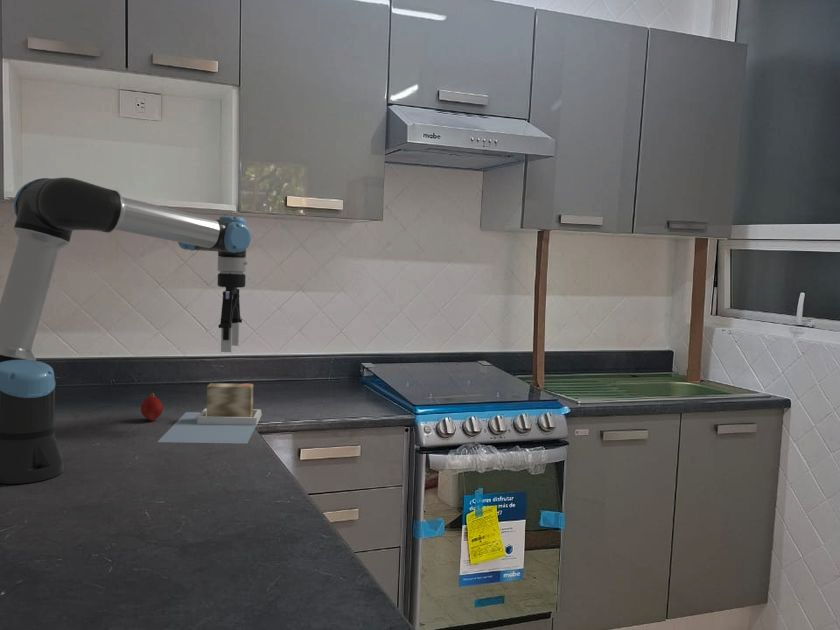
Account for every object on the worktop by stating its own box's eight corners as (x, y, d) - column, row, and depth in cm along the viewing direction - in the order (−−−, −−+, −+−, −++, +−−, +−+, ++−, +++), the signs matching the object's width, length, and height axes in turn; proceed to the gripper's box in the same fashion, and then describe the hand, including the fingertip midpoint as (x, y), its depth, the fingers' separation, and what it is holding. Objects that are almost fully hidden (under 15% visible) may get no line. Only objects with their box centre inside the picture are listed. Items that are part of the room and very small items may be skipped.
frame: (256, 425, 210) (256, 418, 210) (197, 424, 208) (197, 417, 208) (261, 416, 221) (261, 409, 221) (204, 415, 219) (204, 408, 219)
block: (206, 421, 211) (207, 385, 210) (209, 417, 216) (210, 382, 215) (250, 422, 212) (251, 386, 211) (252, 418, 217) (253, 383, 216)
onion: (136, 421, 209) (136, 393, 209) (152, 418, 214) (152, 390, 214) (151, 424, 207) (151, 395, 206) (167, 421, 212) (167, 392, 211)
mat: (247, 444, 190) (247, 443, 190) (157, 443, 188) (157, 442, 188) (262, 414, 224) (262, 413, 224) (186, 413, 222) (186, 412, 222)
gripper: (239, 275, 199) (237, 355, 200) (251, 271, 223) (249, 343, 225) (209, 273, 198) (208, 354, 200) (225, 270, 223) (223, 342, 224)
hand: (230, 348), depth 212 cm, fingers open, 13 cm apart
